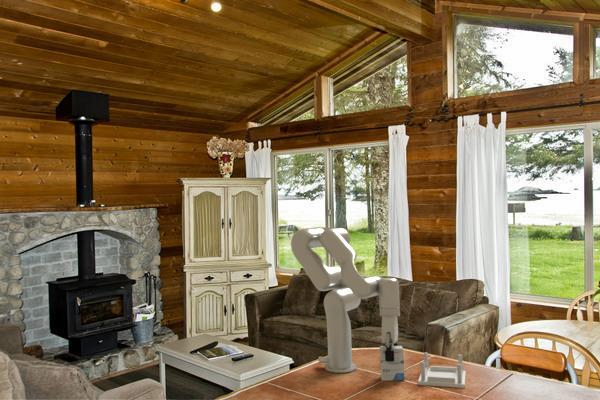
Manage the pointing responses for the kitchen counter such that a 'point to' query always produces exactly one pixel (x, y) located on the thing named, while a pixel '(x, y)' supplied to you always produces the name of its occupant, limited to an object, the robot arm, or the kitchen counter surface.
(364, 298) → the robot arm
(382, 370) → the ink box
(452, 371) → the tray
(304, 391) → the kitchen counter surface
